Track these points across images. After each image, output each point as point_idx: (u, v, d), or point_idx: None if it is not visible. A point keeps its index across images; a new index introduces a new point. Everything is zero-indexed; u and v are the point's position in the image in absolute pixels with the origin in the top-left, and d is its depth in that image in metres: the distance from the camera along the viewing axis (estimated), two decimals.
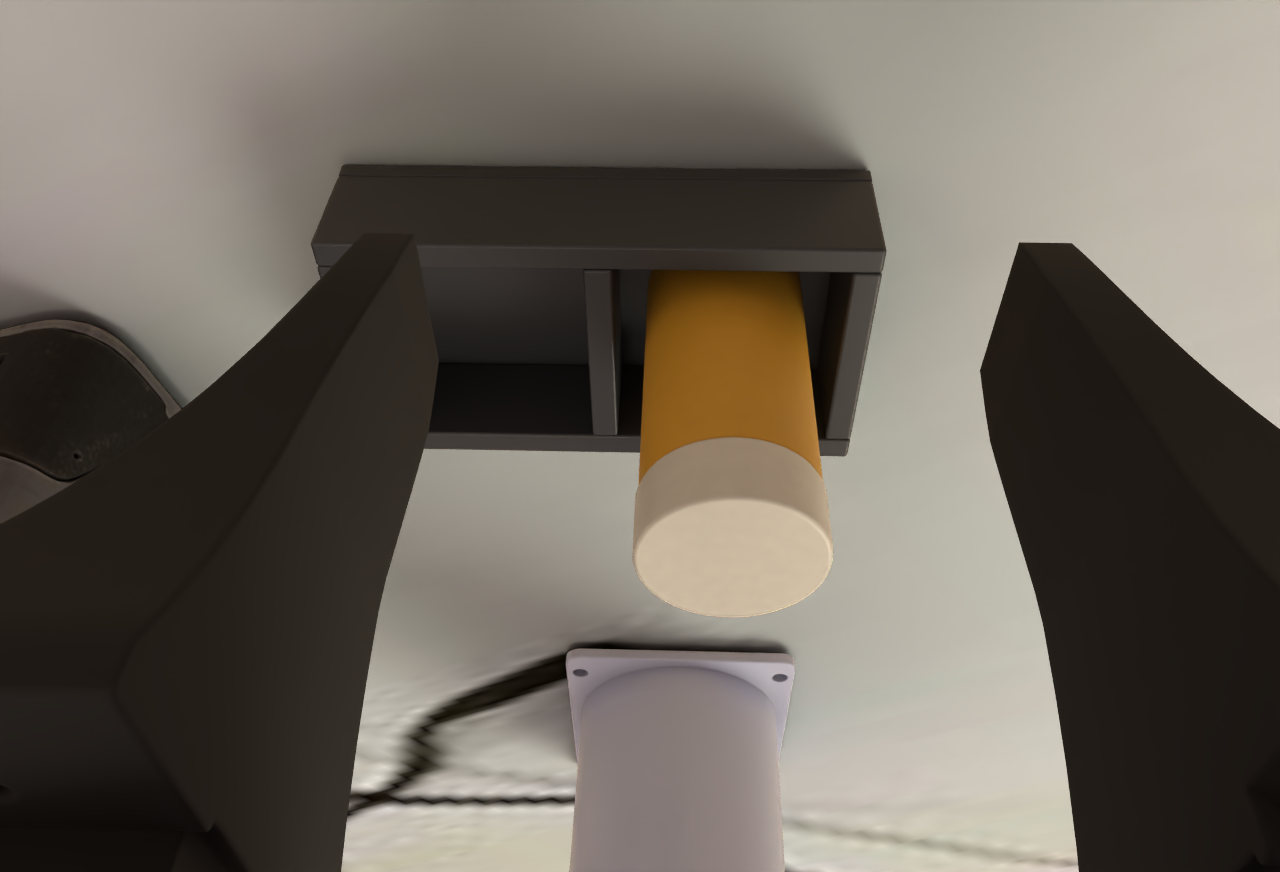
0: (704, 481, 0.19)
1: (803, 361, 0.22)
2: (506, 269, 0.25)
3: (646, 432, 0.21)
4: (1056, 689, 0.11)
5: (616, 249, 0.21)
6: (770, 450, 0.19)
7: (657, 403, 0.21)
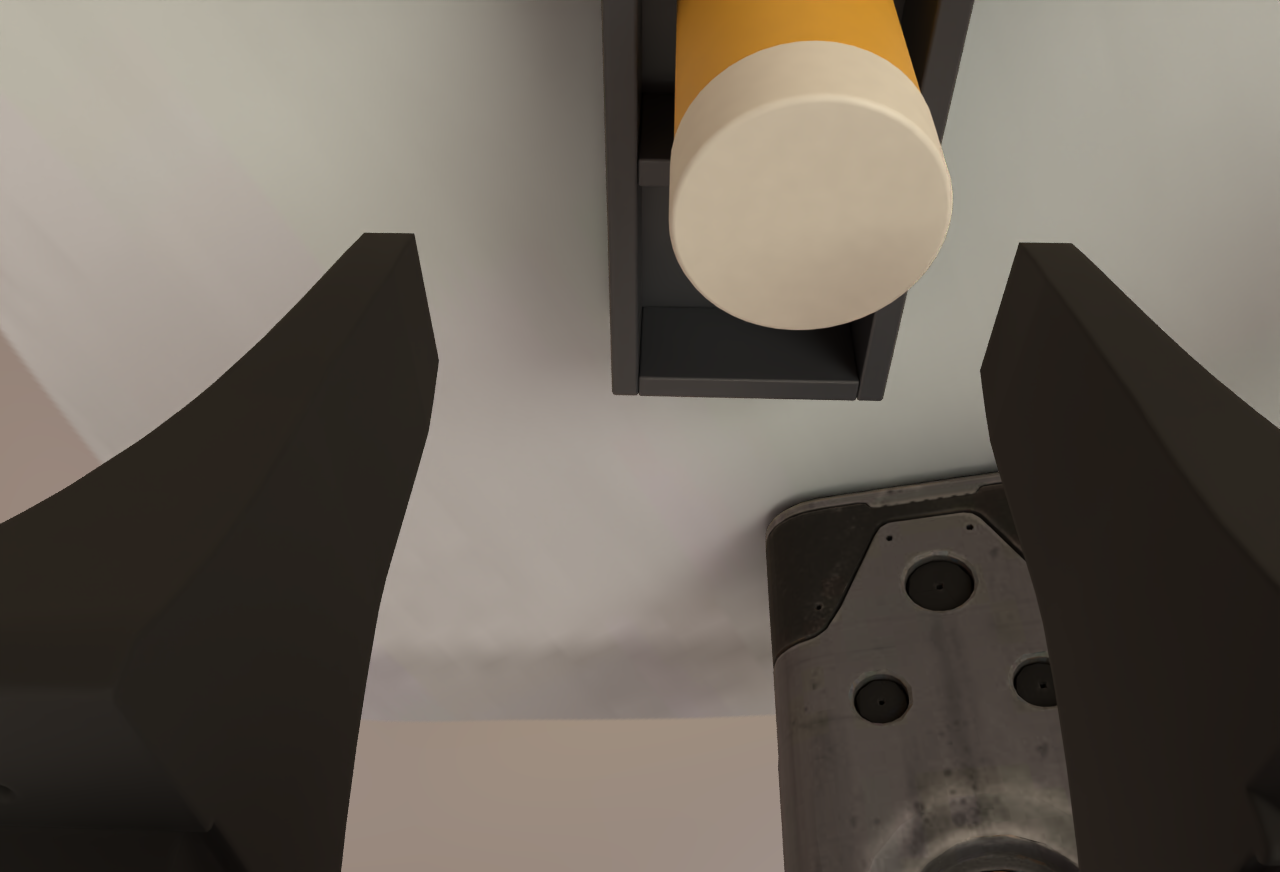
0: None
1: None
2: None
3: None
4: (1056, 689, 0.11)
5: (611, 152, 0.20)
6: (680, 131, 0.14)
7: None
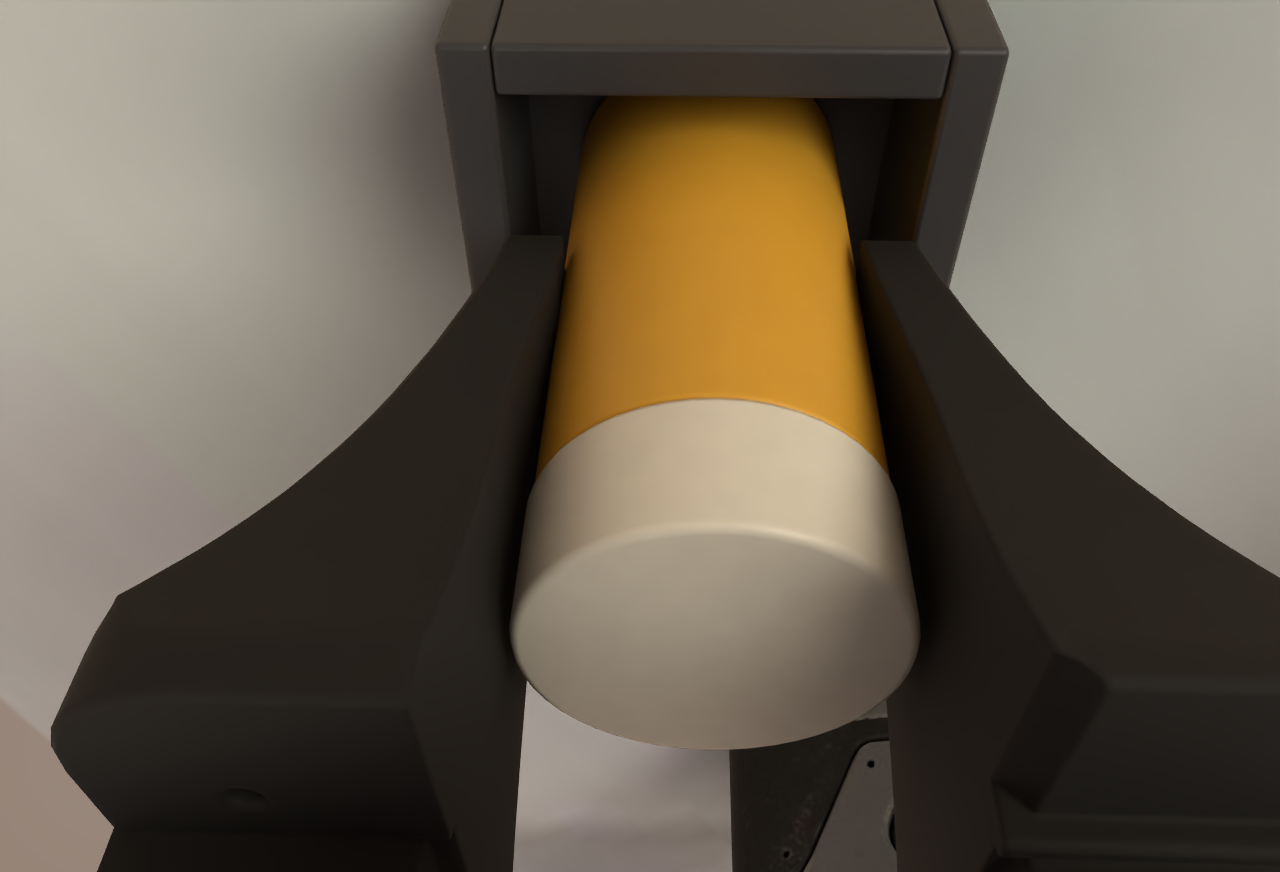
0: None
1: (628, 221, 0.12)
2: None
3: None
4: None
5: None
6: (531, 501, 0.10)
7: None
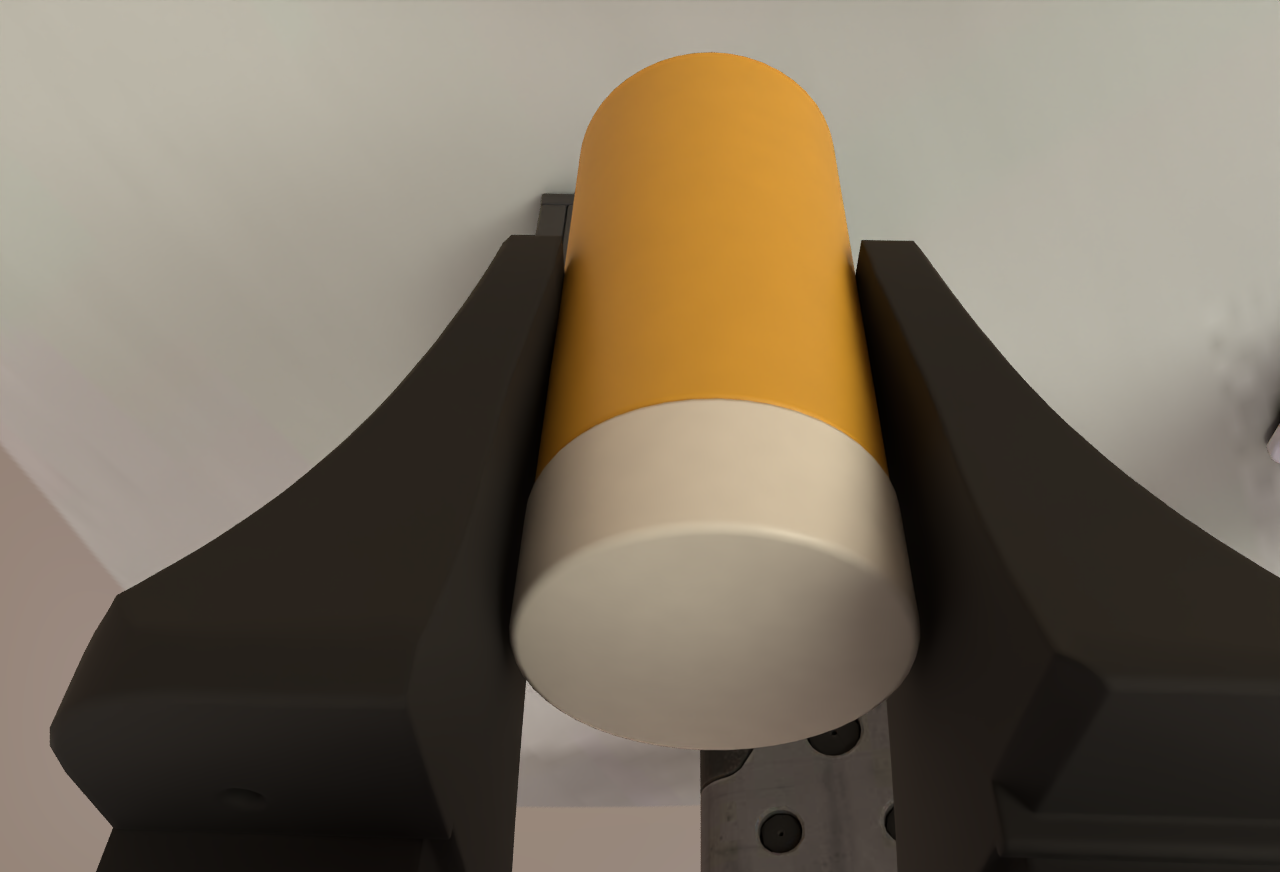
0: None
1: (628, 222, 0.12)
2: None
3: None
4: None
5: None
6: (531, 502, 0.10)
7: None
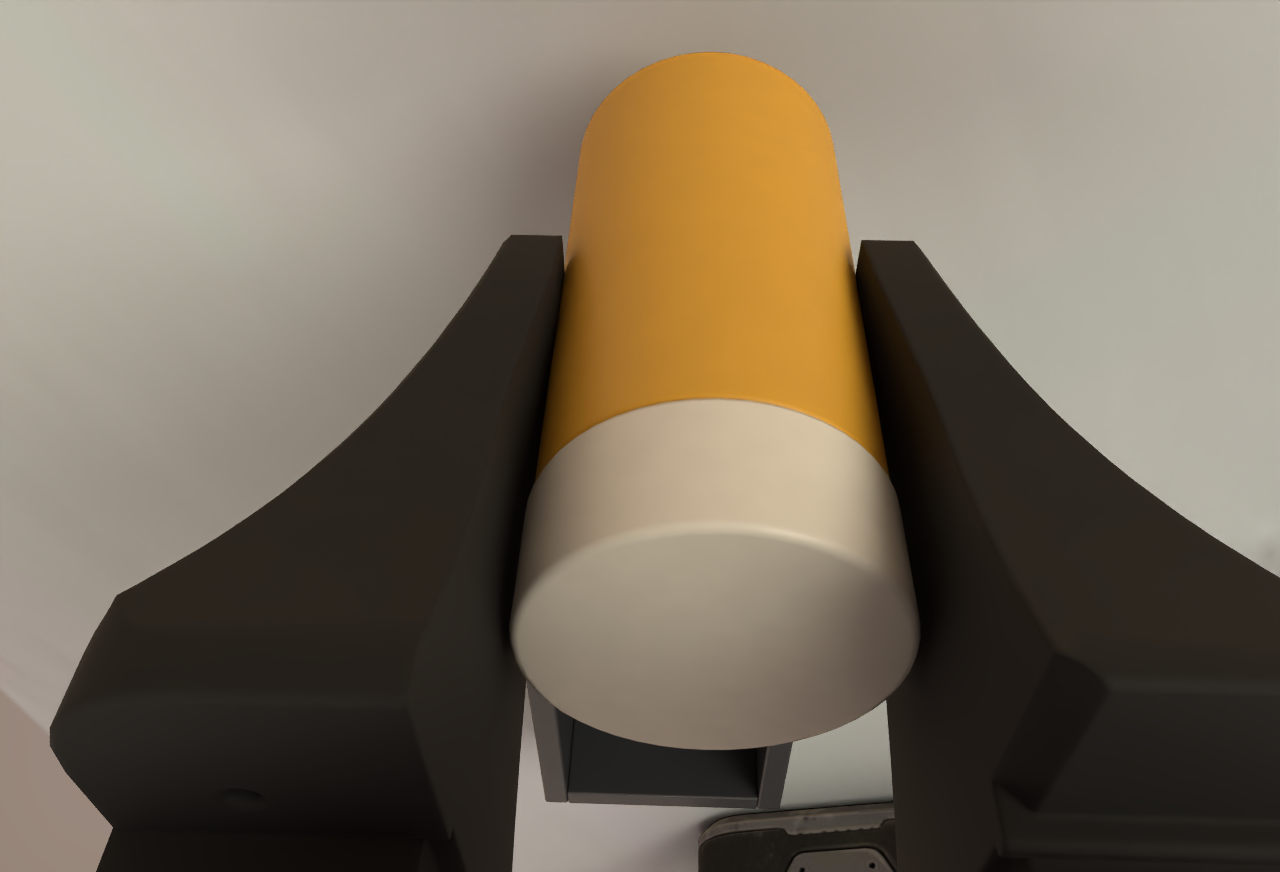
0: None
1: (628, 221, 0.12)
2: None
3: None
4: None
5: None
6: (531, 501, 0.10)
7: None
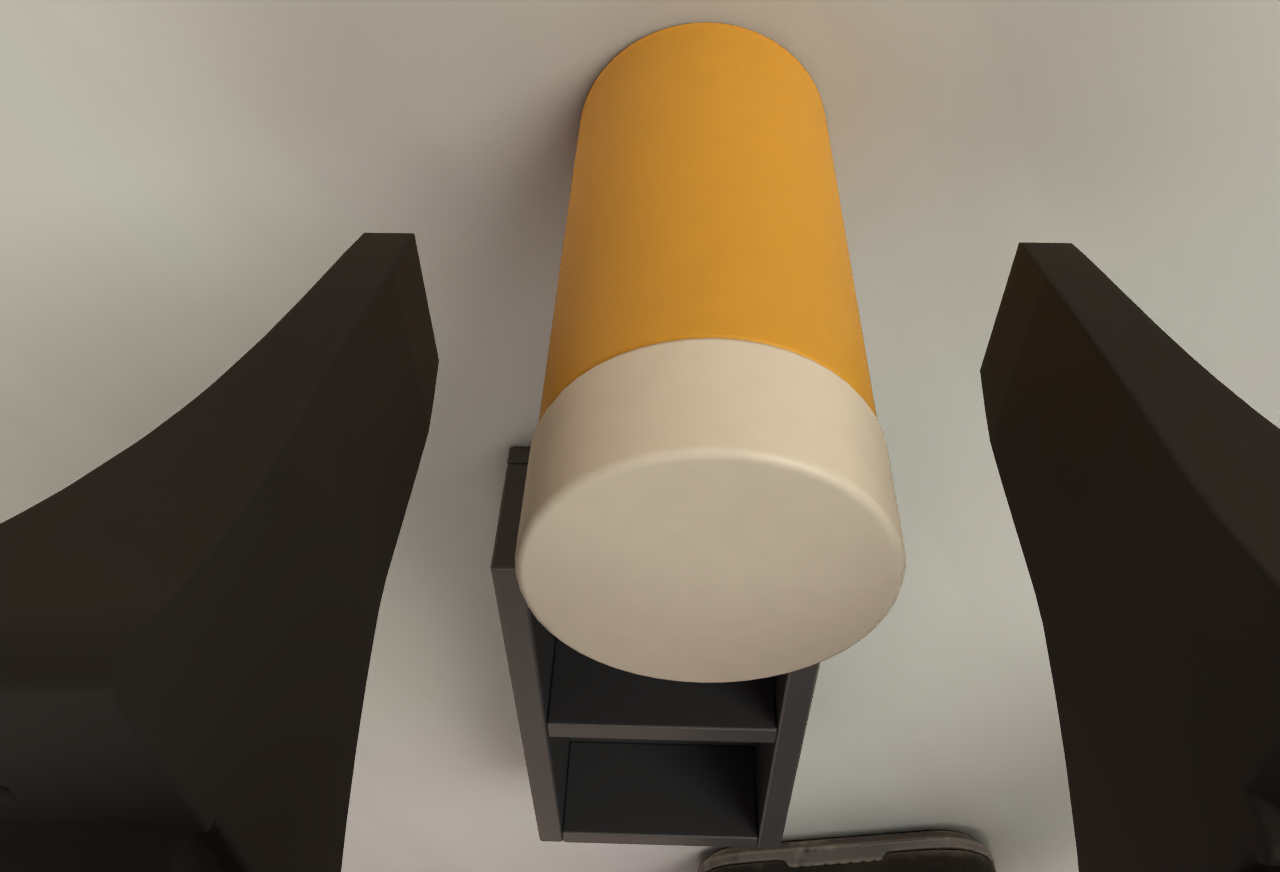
0: None
1: (626, 180, 0.12)
2: None
3: None
4: (1056, 689, 0.11)
5: (522, 718, 0.22)
6: (535, 441, 0.11)
7: None
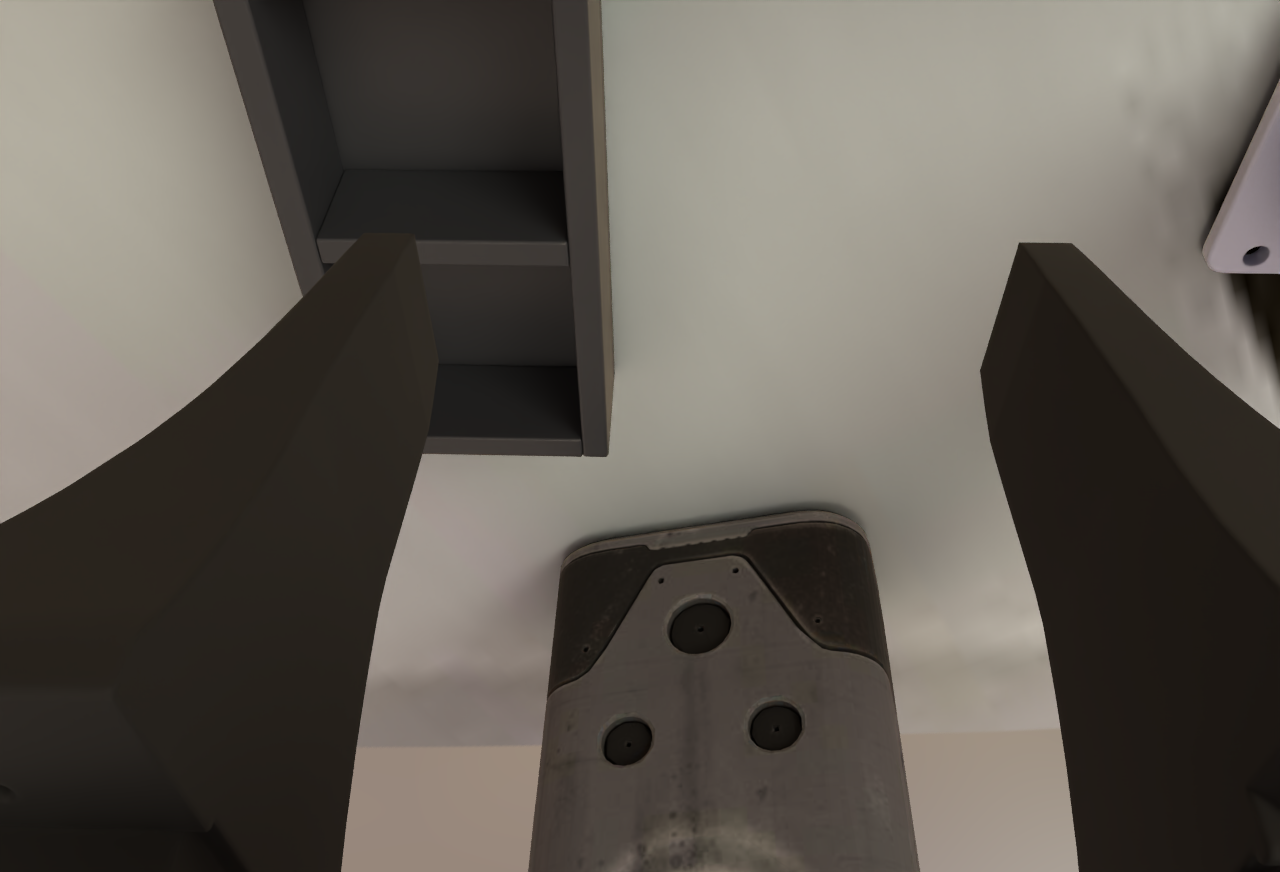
0: None
1: None
2: (452, 271, 0.24)
3: None
4: (1056, 689, 0.11)
5: (288, 232, 0.20)
6: None
7: None
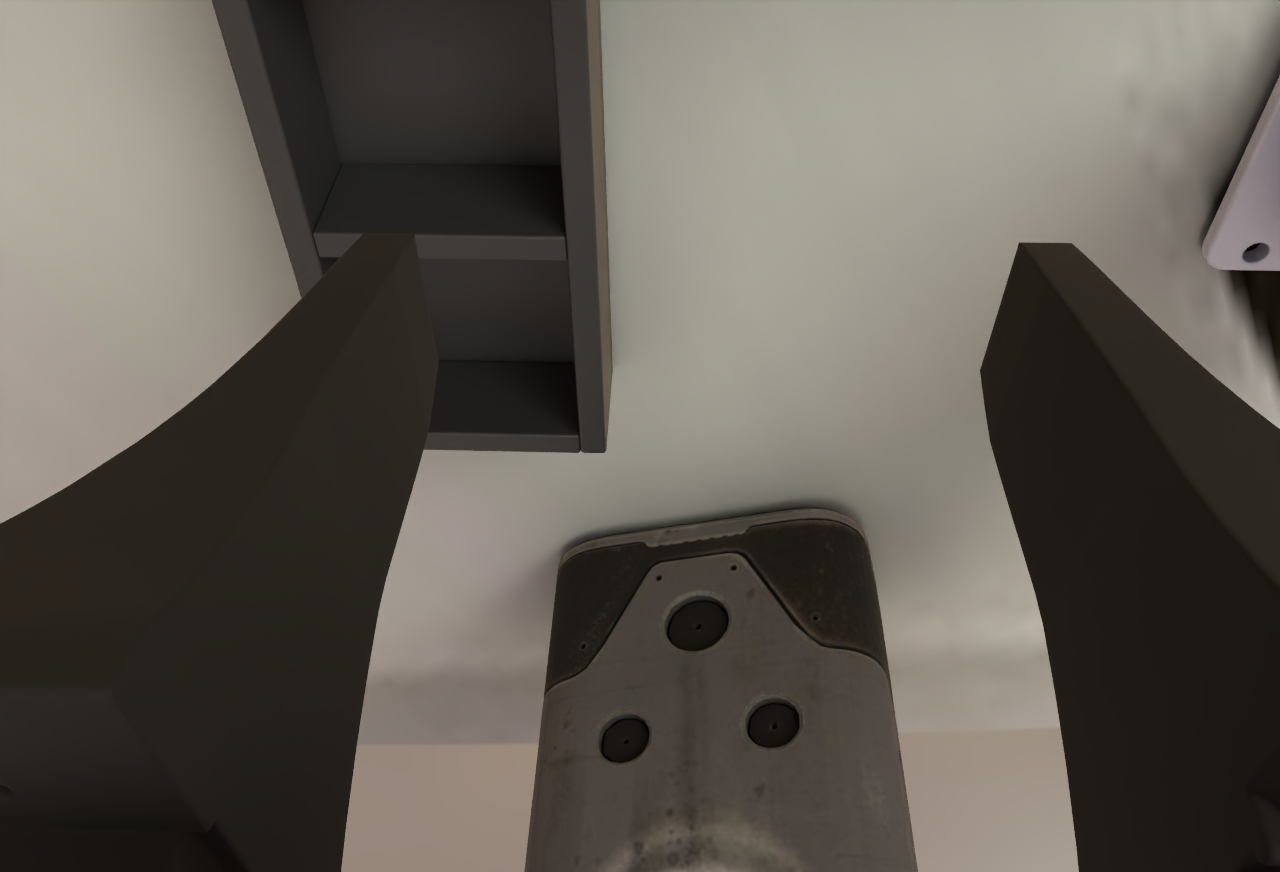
0: None
1: None
2: (450, 266, 0.24)
3: None
4: (1056, 689, 0.11)
5: (285, 226, 0.20)
6: None
7: None
